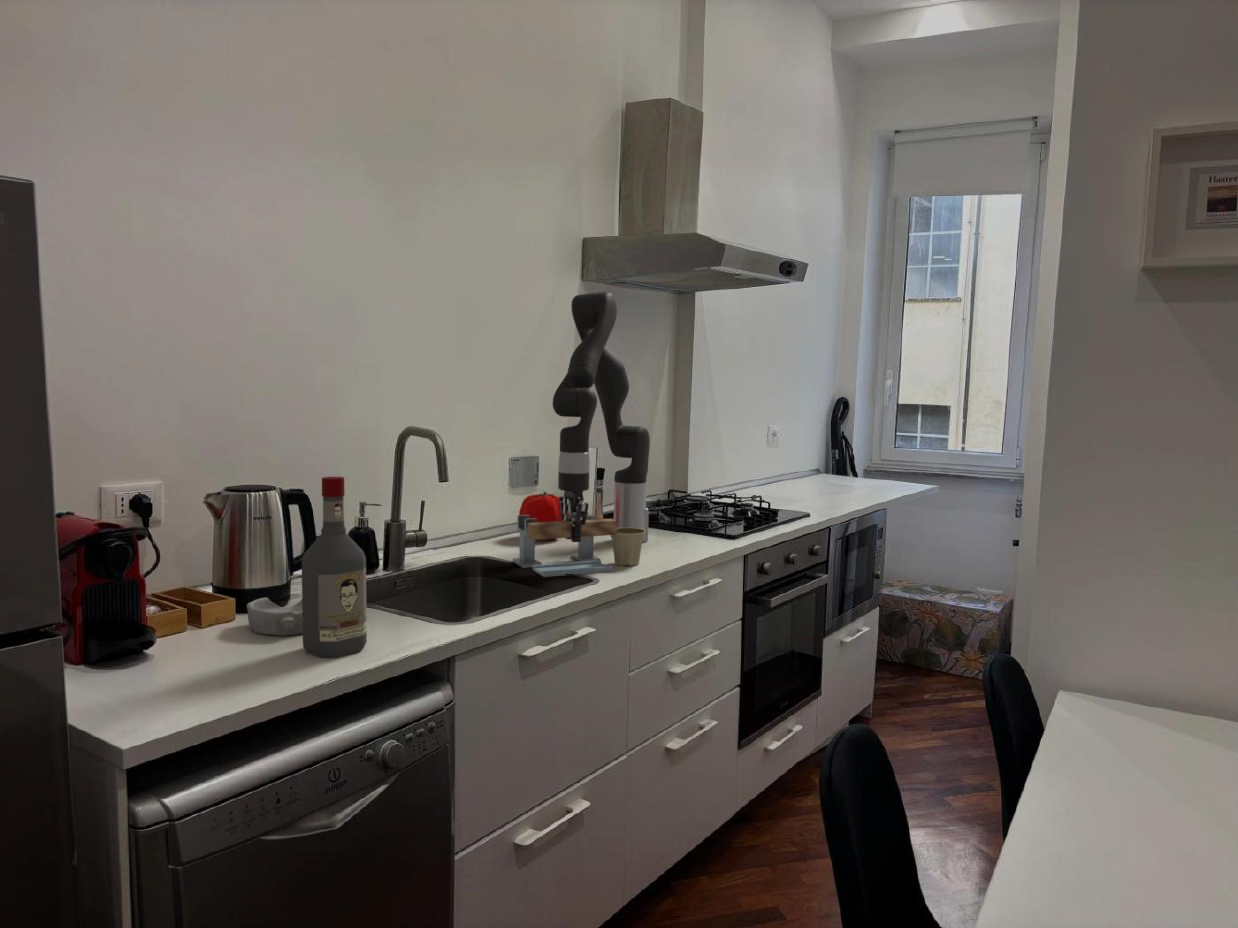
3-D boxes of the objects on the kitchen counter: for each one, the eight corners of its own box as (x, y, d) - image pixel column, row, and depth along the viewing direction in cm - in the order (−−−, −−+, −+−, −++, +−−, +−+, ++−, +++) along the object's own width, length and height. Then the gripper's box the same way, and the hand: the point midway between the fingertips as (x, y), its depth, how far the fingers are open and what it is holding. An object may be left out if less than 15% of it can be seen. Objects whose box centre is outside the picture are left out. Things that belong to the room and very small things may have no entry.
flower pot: (602, 565, 232) (603, 531, 231) (616, 558, 240) (616, 526, 239) (637, 569, 228) (638, 534, 227) (650, 562, 237) (650, 529, 236)
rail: (610, 532, 230) (611, 518, 230) (616, 534, 227) (616, 520, 227) (527, 537, 221) (527, 522, 221) (532, 539, 218) (532, 525, 217)
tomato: (560, 544, 258) (560, 496, 257) (512, 542, 260) (513, 494, 259) (572, 534, 274) (572, 489, 272) (527, 532, 276) (527, 487, 274)
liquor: (297, 649, 159) (294, 477, 156) (344, 638, 166) (342, 473, 163) (325, 661, 153) (323, 482, 150) (372, 649, 160) (371, 478, 157)
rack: (588, 556, 243) (589, 511, 242) (600, 562, 236) (601, 515, 234) (512, 561, 234) (512, 515, 233) (522, 567, 227) (523, 520, 226)
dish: (237, 626, 173) (237, 600, 172) (309, 614, 182) (309, 589, 182) (267, 644, 162) (266, 616, 162) (341, 630, 171) (341, 604, 171)
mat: (599, 564, 232) (599, 560, 232) (612, 571, 225) (613, 566, 225) (532, 570, 225) (532, 565, 225) (543, 576, 217) (543, 571, 217)
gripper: (599, 473, 218) (598, 544, 219) (577, 467, 230) (576, 534, 232) (570, 473, 214) (569, 546, 216) (549, 467, 227) (548, 536, 229)
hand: (572, 540), depth 224 cm, fingers closed on rail, 3 cm apart
